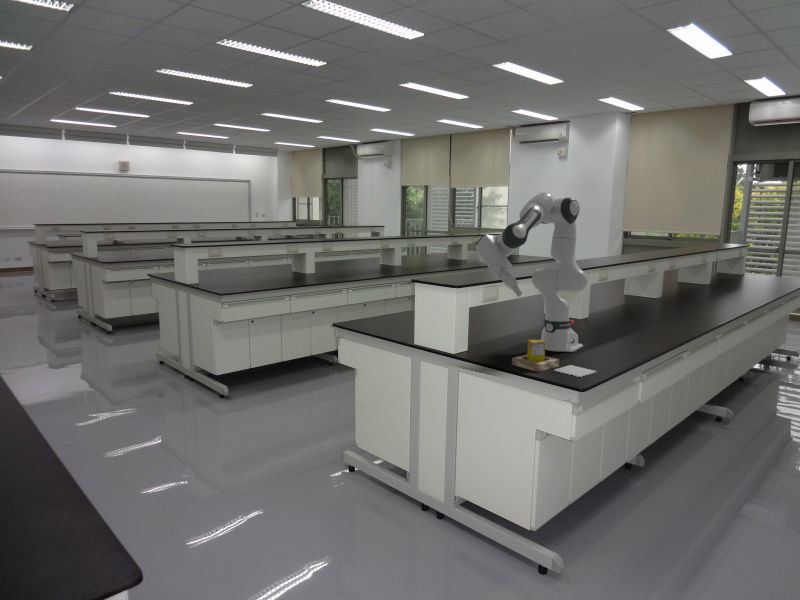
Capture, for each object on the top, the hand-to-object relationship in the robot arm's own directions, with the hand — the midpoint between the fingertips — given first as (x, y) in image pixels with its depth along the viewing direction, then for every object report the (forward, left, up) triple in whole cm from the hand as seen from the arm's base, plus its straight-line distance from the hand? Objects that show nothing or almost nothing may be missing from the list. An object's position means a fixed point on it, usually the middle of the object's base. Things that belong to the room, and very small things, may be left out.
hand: (520, 295), depth 226 cm
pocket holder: (-4, +6, -30) cm, 31 cm away
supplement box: (-4, +6, -30) cm, 31 cm away
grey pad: (-9, +22, -30) cm, 38 cm away
